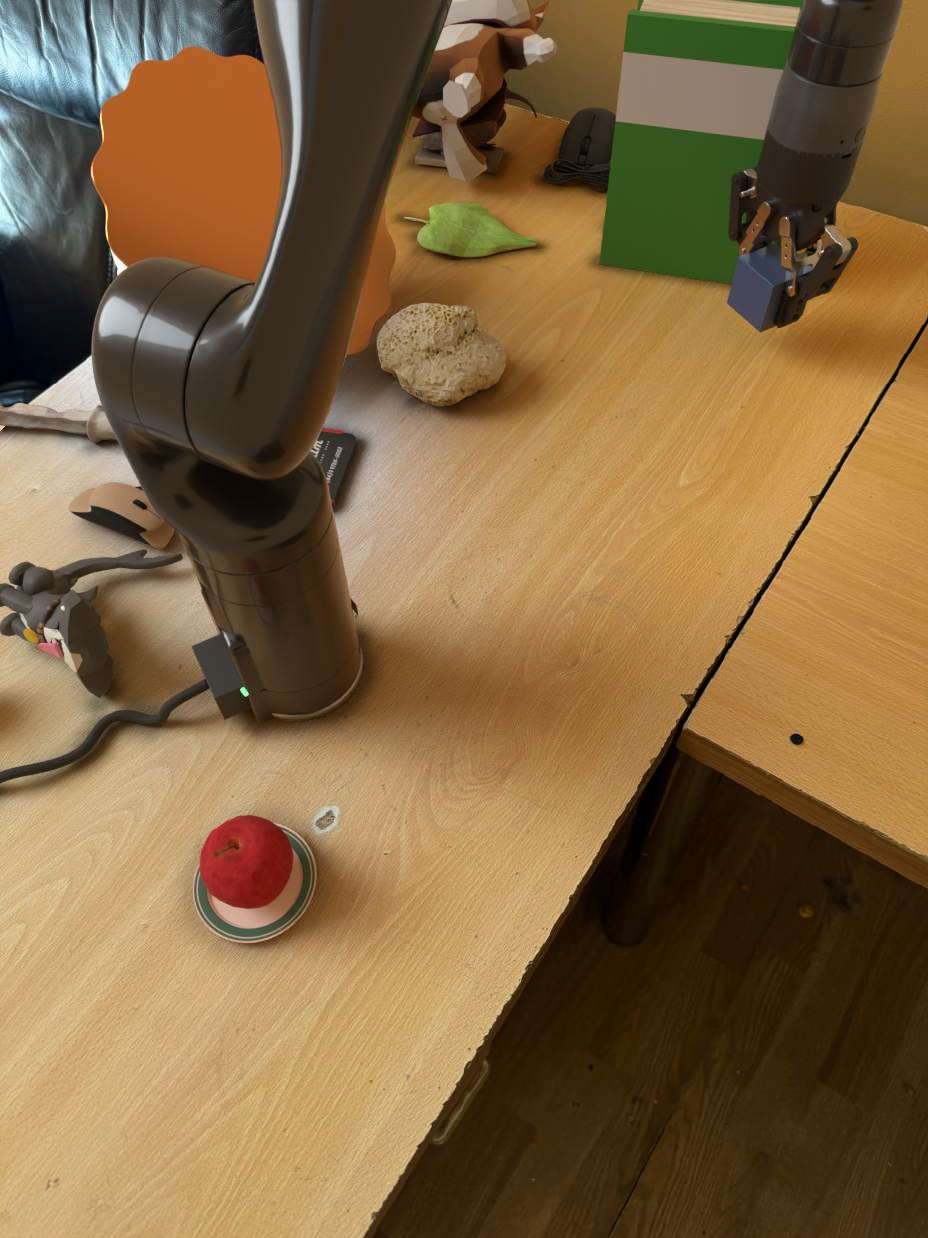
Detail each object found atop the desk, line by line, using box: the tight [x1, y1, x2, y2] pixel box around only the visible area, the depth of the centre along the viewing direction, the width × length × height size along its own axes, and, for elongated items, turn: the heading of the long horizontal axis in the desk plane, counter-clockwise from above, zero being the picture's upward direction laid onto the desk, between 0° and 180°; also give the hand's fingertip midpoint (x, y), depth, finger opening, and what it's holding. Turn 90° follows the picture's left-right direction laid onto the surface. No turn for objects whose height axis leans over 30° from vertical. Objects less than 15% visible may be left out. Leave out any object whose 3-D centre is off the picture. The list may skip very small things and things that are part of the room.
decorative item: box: [376, 302, 507, 407], centre depth 86 cm, size 12×9×10 cm
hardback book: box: [599, 0, 802, 285], centre depth 90 cm, size 18×7×24 cm, turn 74°
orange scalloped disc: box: [90, 45, 397, 357], centre depth 88 cm, size 28×28×18 cm
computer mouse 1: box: [68, 481, 176, 550], centre depth 78 cm, size 6×10×4 cm, turn 64°
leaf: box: [403, 202, 539, 259], centre depth 101 cm, size 9×16×2 cm, turn 66°
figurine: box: [414, 87, 538, 174], centre depth 107 cm, size 14×4×9 cm, turn 76°
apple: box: [192, 814, 318, 944], centre depth 59 cm, size 8×8×6 cm
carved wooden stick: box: [0, 400, 118, 445], centre depth 84 cm, size 25×4×3 cm, turn 79°
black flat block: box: [310, 427, 358, 509], centre depth 82 cm, size 10×1×5 cm
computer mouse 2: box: [541, 106, 616, 193], centre depth 110 cm, size 10×15×4 cm
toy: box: [411, 0, 558, 183], centre depth 105 cm, size 24×18×30 cm
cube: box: [726, 243, 808, 333], centre depth 86 cm, size 5×5×5 cm
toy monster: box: [0, 548, 184, 699], centre depth 70 cm, size 14×18×10 cm
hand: (764, 306), depth 88 cm, fingers closed on cube, 5 cm apart
